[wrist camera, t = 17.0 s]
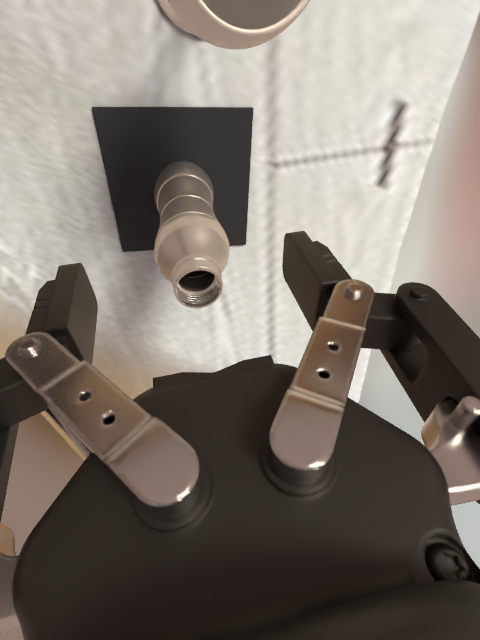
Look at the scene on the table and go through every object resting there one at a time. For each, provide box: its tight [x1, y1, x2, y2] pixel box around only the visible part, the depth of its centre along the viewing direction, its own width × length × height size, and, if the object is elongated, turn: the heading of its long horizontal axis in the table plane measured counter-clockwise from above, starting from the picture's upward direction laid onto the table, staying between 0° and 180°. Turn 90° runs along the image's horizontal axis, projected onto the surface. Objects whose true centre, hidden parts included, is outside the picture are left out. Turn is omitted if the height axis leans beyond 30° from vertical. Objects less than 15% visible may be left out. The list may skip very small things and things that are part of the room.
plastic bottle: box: [154, 161, 230, 308], centre depth 33 cm, size 6×7×20 cm
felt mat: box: [92, 107, 253, 252], centre depth 40 cm, size 16×16×1 cm
